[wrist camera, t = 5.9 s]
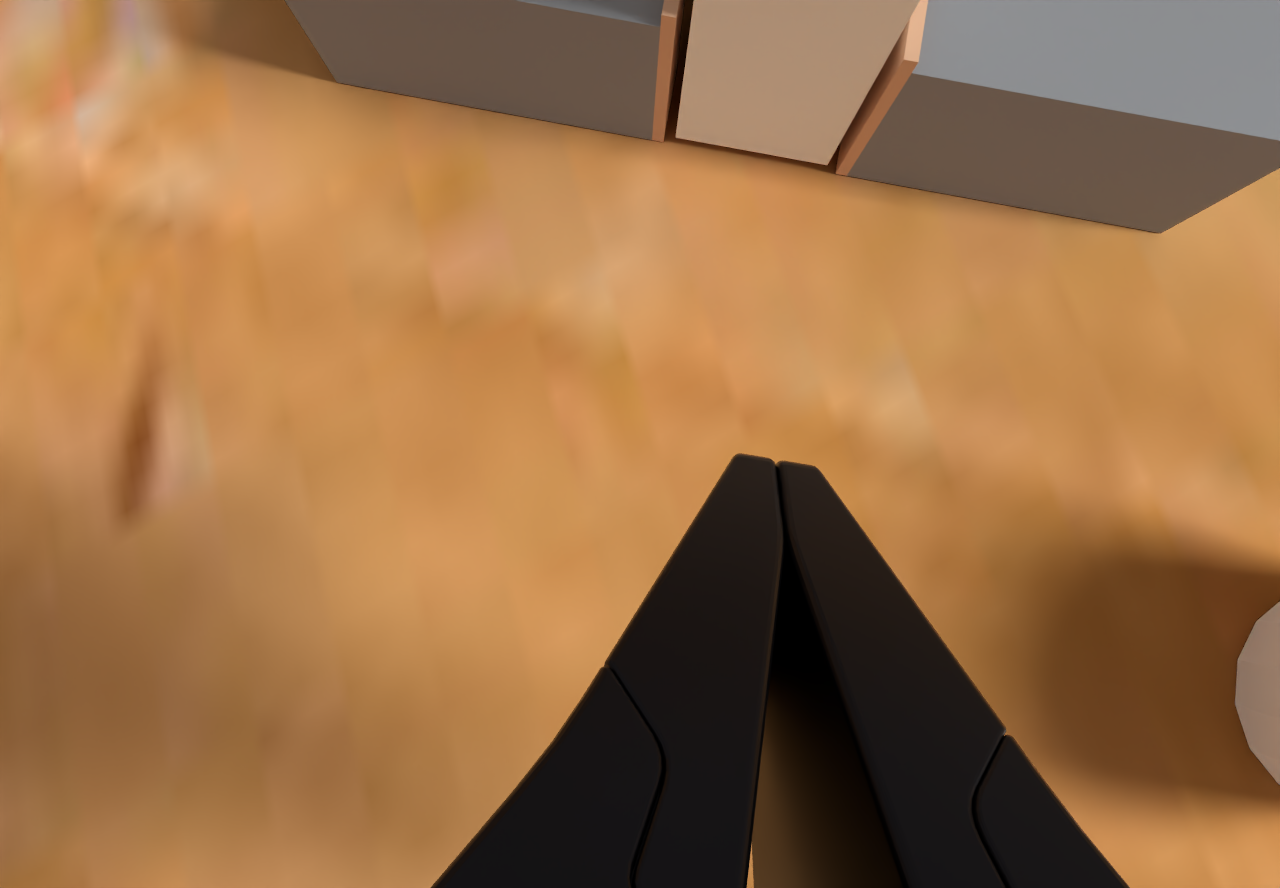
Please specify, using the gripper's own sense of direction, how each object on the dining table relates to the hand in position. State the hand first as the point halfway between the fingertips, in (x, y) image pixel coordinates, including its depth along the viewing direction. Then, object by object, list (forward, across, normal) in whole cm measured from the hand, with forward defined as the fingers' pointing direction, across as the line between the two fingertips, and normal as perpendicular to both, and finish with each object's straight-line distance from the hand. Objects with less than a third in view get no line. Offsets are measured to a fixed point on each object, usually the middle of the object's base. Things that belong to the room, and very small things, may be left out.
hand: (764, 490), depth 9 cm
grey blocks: (+17, 0, 0) cm, 17 cm away
